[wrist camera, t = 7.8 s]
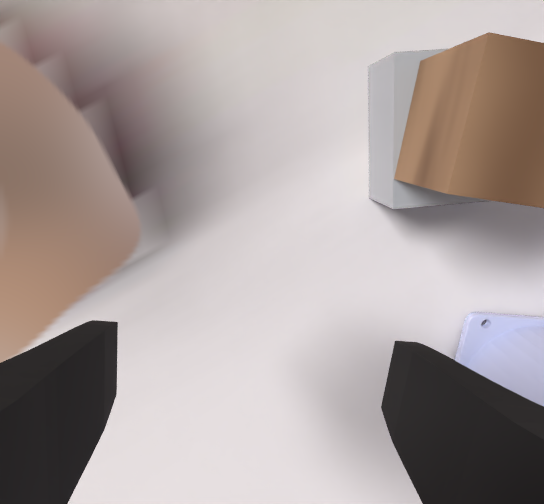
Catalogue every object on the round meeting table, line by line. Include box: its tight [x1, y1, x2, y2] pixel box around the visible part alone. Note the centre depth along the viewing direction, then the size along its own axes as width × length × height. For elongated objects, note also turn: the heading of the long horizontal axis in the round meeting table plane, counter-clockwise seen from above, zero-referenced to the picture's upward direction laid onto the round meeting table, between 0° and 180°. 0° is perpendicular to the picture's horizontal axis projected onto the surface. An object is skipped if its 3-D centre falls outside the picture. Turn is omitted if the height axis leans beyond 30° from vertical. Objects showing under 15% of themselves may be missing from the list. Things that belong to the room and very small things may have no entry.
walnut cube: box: [394, 33, 544, 208], centre depth 14 cm, size 4×4×4 cm
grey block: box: [368, 49, 492, 209], centre depth 18 cm, size 6×6×4 cm
